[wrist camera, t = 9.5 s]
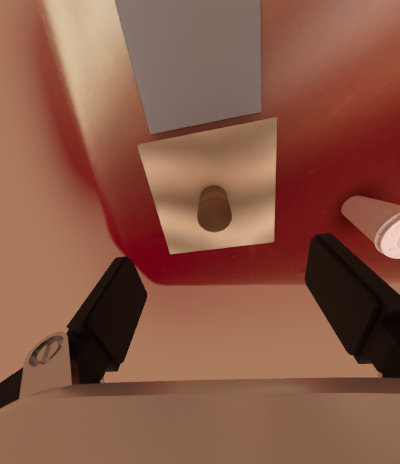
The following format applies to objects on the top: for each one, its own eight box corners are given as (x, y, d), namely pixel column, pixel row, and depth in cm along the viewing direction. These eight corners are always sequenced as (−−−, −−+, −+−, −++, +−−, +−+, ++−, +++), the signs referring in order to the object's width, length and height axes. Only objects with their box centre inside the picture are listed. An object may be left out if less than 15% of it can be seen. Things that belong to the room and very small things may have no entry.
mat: (108, -30, 19) (105, -34, 18) (258, -79, 17) (259, -85, 16) (151, 134, 26) (150, 134, 25) (260, 112, 24) (261, 112, 23)
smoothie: (332, 229, 31) (411, 291, 19) (331, 194, 29) (423, 242, 16) (374, 217, 30) (488, 276, 18) (377, 180, 27) (515, 220, 15)
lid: (140, 143, 20) (113, 148, 14) (273, 117, 18) (301, 111, 13) (171, 249, 26) (161, 280, 21) (271, 237, 25) (289, 268, 19)
